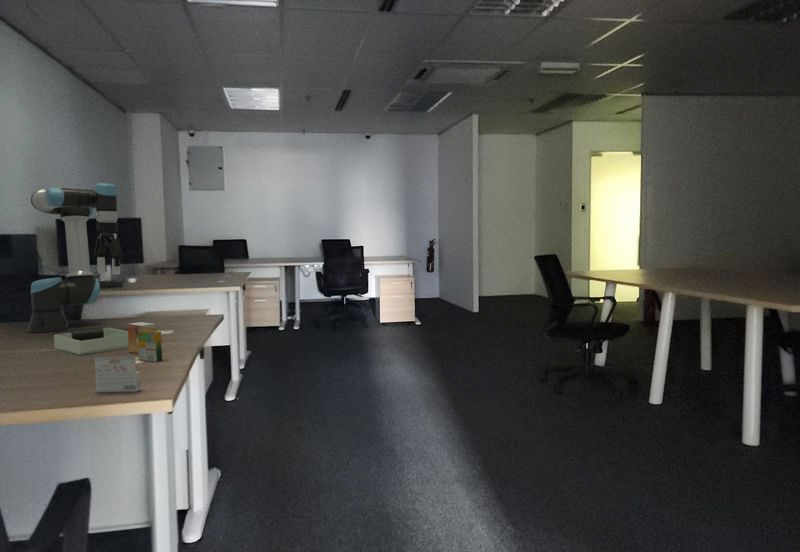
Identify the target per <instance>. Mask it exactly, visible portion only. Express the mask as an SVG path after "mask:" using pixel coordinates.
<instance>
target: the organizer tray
mask: <svg viewBox="0 0 800 552" xmlns="http://www.w3.org/2000/svg"><path fill="white" fill-rule="evenodd" d="M102 328H103V327H102ZM103 332H104V338H99V339H92V340H85V341H78V340H74V339H72V334H71V332H67V333H59V334H58V333H57V334H54V335H53V343H54V345H53V346H54V349H57V350H59V351H63V352H68V353H70V354H74V355H78V356H86V355H91V354H92V355H93V354H97V353H99V354H100V353H103V352H109V351H110V352H111V351H115V350H122V349H127V348H128V349H129V347H128V330H122V329H117V328H112V327H104V328H103Z"/></svg>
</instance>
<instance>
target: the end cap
mask: <svg viewBox="0 0 800 552" xmlns="http://www.w3.org/2000/svg"><path fill="white" fill-rule="evenodd" d="M70 333H71V334H72V339H74V340H78V341H85V340H92V339H99V338H104V332H103V327H102V326H100V327H91V328H89V327H88V328H81V329H80V328H78V329H72V330H71V332H70Z"/></svg>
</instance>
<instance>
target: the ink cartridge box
mask: <svg viewBox="0 0 800 552" xmlns="http://www.w3.org/2000/svg"><path fill="white" fill-rule="evenodd" d="M93 357H94V358H93V359H94V360H93V361H94V367H95V369H94V370H95V380H94V381H95V392H96V393H115V392H116V393H119V392H121V393H123V392H124V393H127V392H129V393H130V392H131V393H132V392H133V393H134V392H138V391H140V390H141V371H139V370H137V365H136V364H137V362H136V356H135V355H134V356H127V355H126V356H93ZM114 360H116V361H120V363H119V362H118V363H117V362H115V363H113V362H112V363H110V362H111V361H114Z"/></svg>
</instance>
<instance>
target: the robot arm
mask: <svg viewBox="0 0 800 552" xmlns="http://www.w3.org/2000/svg"><path fill="white" fill-rule="evenodd" d="M94 186H95V187H94V188H95V189H88V188H87V189H84V188H83V189H82V188H70V187H69V188H68V187H59V186H56V187H55V186H54V187H52V186H51V187H47V188H45V189H40V190H39V189H38V190H36V191H34V192H33V193H32V194H31V197H30V203H31V205H32V207H33V208H34V209H35V210H36V211H38V212H41V213H44V214H46V215H47V214H48V215H59V216H60V220H61V221H62V222H64V228H65V238H66V239H65V240H66V252H67V253H66V254H67V264H68V265H67V266H68V273H67V275H65V280H63V279H62V277H50V278H49V277H48V278H44V279H38V280H35V281H33V282H31V284H30V294H31V295H30V296H31V298H30V299H31V316H30V319H29V323H28V325H27V331H28V332H29V333H50V332H58V331H59V332H60V331H64V330H68V329H69V323H68V320H67V318H66V315H65V314H64V313H65V312H64V308H63V307H64V306H74V305H88V304H94V303H96V302H97V300H98V299H99V297H100V291H101V284H100V280H99V279H98V278H95V274H93V272H92V271H91V265H90V253H89V243H88V242H89V239H88V232H87V231H88V230H87V221H88V220H90V216H92V215H93V213H94V209H95V214H94V215H95V217H96V218H95V219H96V231H97V232H100V233H97V234H96V242H95V247H94V253H93V255H94V256H96V261H97V263H96V265H97V266H96V267H97V274H101V273H102V274H105V273H106V259H105V257H106V255H105V254H106V251H107V248H109V250H110V253H111V265H112V267H111V268H112V269H111V271H112V275H114V276H117V275H121V258H122V257H124V254H123V251H122V247H121V244H120V243H121V242H120V239H119V238H120V237H119V234H118V233H115V232H118V231H119V230H118V229H119V228H118V227H119V226H118V199H117V198H118V196H117V195H118V192H117V186H116V185H115V184H112V183H96V184H95V185H94Z"/></svg>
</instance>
